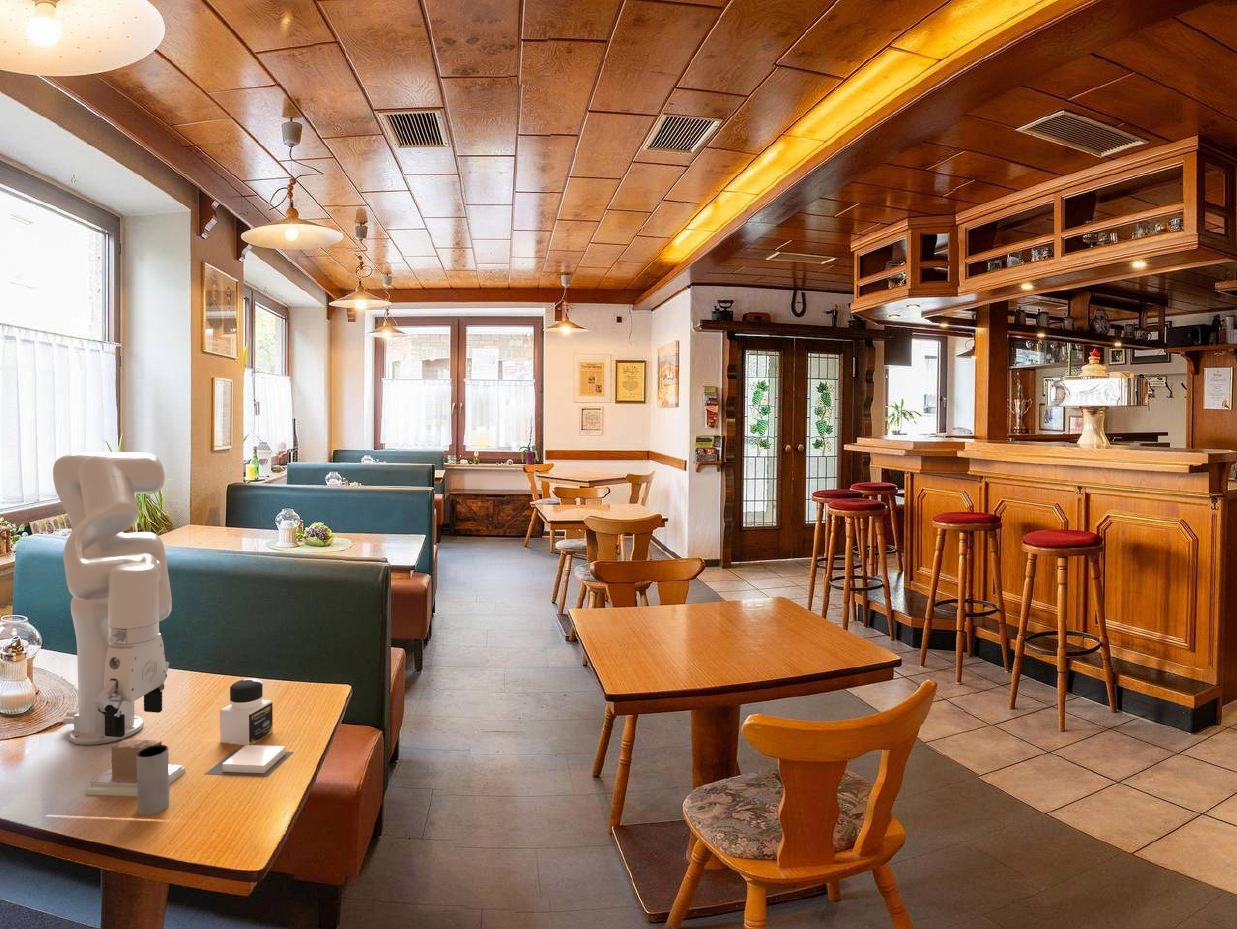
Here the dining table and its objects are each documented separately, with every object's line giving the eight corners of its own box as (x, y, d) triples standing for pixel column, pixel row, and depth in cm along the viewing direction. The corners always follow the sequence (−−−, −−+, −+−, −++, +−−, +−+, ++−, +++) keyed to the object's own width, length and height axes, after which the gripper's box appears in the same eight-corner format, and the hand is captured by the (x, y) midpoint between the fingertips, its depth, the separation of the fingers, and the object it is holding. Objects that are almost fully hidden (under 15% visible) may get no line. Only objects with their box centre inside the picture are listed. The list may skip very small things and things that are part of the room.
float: (90, 785, 127) (89, 751, 127) (119, 767, 134) (118, 734, 134) (156, 788, 126) (155, 753, 126) (182, 769, 133) (181, 736, 133)
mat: (204, 775, 134) (204, 774, 134) (235, 751, 144) (235, 749, 144) (267, 778, 133) (267, 776, 133) (293, 753, 143) (293, 752, 143)
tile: (222, 763, 135) (264, 765, 134) (246, 744, 142) (285, 746, 142) (222, 772, 135) (264, 773, 134) (246, 752, 143) (285, 754, 142)
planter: (147, 802, 124) (146, 744, 123) (174, 802, 124) (173, 744, 124) (131, 817, 119) (130, 757, 119) (160, 816, 120) (159, 756, 119)
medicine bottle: (249, 747, 146) (249, 689, 145) (219, 743, 147) (218, 686, 146) (273, 732, 152) (273, 677, 152) (244, 729, 154) (243, 674, 153)
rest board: (85, 795, 126) (85, 789, 126) (123, 771, 135) (123, 764, 135) (152, 798, 125) (152, 791, 125) (185, 773, 134) (185, 767, 134)
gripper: (119, 651, 120) (119, 748, 122) (185, 619, 137) (185, 704, 139) (75, 647, 120) (77, 745, 122) (147, 616, 137) (147, 701, 139)
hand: (134, 723), depth 130 cm, fingers open, 9 cm apart
